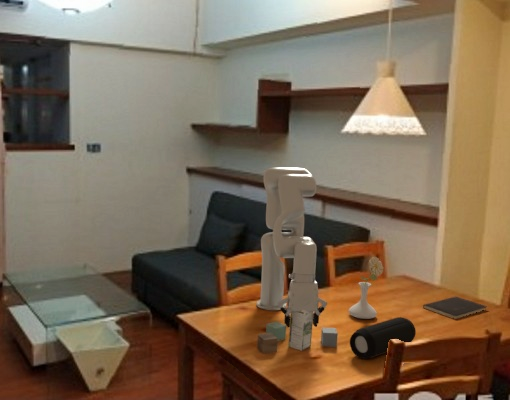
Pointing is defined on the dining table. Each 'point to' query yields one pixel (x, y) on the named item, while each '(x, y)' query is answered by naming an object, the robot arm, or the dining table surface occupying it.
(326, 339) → the slate grey cube
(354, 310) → the flower in vase
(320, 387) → the dining table surface
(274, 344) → the walnut cube
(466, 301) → the hardcover book
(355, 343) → the portable speaker
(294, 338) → the syrup box
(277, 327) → the sage green cube
